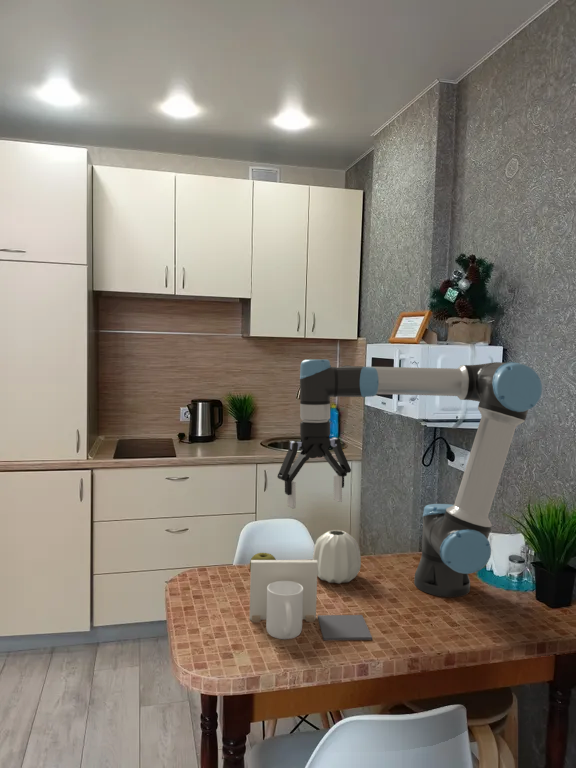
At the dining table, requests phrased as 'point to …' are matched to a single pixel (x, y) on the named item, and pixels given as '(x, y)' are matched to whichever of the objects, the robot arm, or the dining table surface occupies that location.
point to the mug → (284, 609)
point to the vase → (337, 557)
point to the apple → (262, 557)
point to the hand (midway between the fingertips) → (315, 504)
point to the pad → (344, 627)
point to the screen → (282, 571)
